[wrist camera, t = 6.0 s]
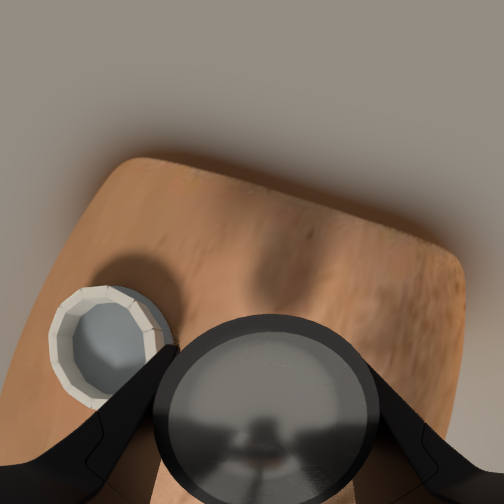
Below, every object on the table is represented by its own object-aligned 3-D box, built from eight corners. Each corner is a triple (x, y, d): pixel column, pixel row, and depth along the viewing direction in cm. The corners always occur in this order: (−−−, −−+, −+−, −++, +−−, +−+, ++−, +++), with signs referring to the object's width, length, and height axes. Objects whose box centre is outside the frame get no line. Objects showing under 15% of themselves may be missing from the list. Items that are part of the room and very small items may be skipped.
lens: (311, 352, 16) (410, 355, 6) (276, 435, 14) (326, 534, 5) (224, 318, 16) (205, 276, 6) (188, 402, 15) (122, 472, 5)
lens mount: (195, 319, 22) (188, 315, 19) (148, 431, 19) (135, 443, 16) (92, 268, 23) (74, 257, 20) (51, 369, 20) (29, 370, 17)
